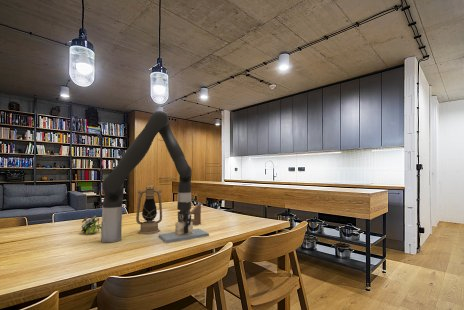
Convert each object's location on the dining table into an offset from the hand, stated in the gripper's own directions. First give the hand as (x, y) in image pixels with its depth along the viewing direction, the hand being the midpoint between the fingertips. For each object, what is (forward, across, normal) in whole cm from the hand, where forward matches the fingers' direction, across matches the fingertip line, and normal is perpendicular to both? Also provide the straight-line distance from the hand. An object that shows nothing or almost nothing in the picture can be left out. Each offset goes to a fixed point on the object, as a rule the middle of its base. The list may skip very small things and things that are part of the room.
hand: (183, 231), depth 133 cm
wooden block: (+3, -24, +16) cm, 29 cm away
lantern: (+3, -21, -13) cm, 25 cm away
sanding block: (+1, 0, 0) cm, 1 cm away
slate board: (+2, 0, 0) cm, 2 cm away
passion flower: (+3, -37, -41) cm, 56 cm away
